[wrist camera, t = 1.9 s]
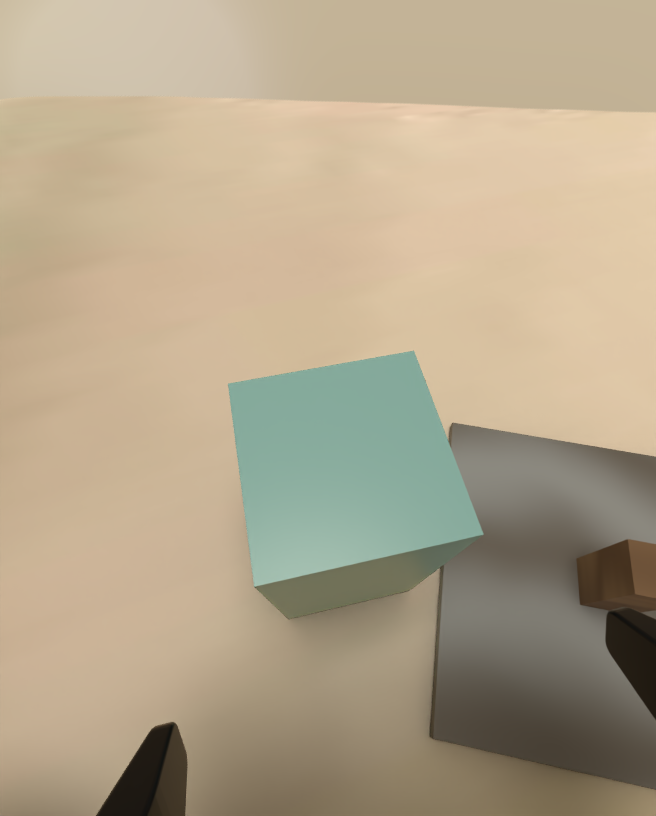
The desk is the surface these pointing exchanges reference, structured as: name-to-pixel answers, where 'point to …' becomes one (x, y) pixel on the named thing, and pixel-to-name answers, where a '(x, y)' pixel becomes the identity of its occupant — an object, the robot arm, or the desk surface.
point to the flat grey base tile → (547, 605)
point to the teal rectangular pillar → (346, 483)
